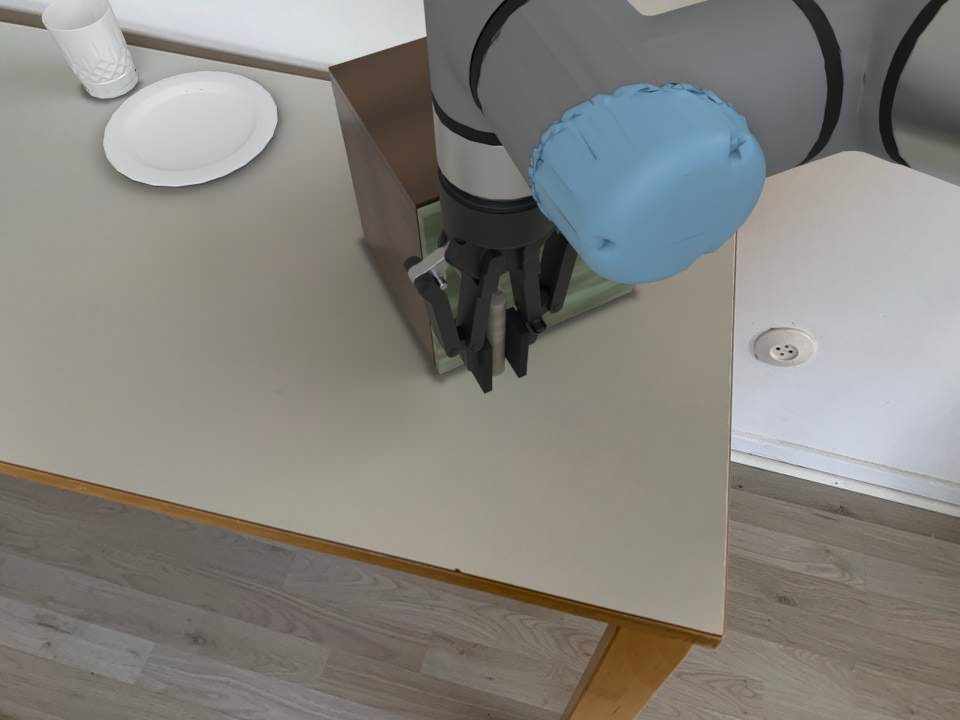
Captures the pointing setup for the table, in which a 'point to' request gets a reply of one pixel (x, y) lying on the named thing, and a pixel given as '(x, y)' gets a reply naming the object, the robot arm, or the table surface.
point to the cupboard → (391, 159)
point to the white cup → (92, 45)
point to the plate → (190, 129)
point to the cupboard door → (580, 295)
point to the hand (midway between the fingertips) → (498, 372)
